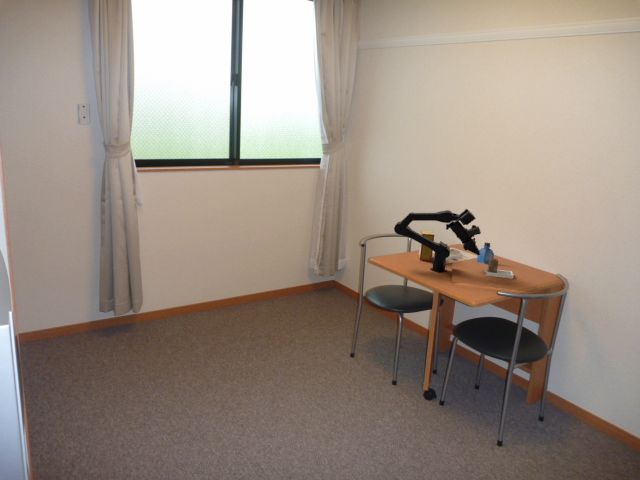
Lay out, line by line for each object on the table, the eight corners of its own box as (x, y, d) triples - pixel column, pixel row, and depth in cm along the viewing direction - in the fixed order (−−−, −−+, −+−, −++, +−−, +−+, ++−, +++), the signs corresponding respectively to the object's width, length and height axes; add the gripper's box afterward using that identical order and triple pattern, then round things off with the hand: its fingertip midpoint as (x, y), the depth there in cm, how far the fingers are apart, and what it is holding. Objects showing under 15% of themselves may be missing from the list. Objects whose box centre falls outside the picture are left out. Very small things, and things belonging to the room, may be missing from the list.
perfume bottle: (485, 261, 276) (488, 241, 273) (492, 264, 271) (495, 244, 268) (476, 262, 274) (479, 242, 271) (483, 265, 269) (486, 244, 266)
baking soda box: (431, 261, 272) (434, 234, 268) (419, 260, 273) (422, 233, 269) (430, 256, 281) (432, 230, 277) (418, 255, 282) (421, 229, 278)
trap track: (485, 277, 247) (486, 272, 247) (485, 273, 254) (485, 268, 253) (512, 281, 244) (513, 275, 243) (511, 276, 251) (512, 271, 250)
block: (488, 274, 248) (490, 260, 246) (487, 272, 252) (489, 258, 250) (496, 275, 247) (498, 261, 245) (495, 273, 251) (497, 258, 249)
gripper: (473, 224, 237) (493, 248, 237) (471, 217, 255) (490, 239, 255) (454, 238, 241) (475, 262, 241) (454, 230, 259) (473, 252, 259)
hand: (479, 253), depth 249 cm, fingers open, 4 cm apart
